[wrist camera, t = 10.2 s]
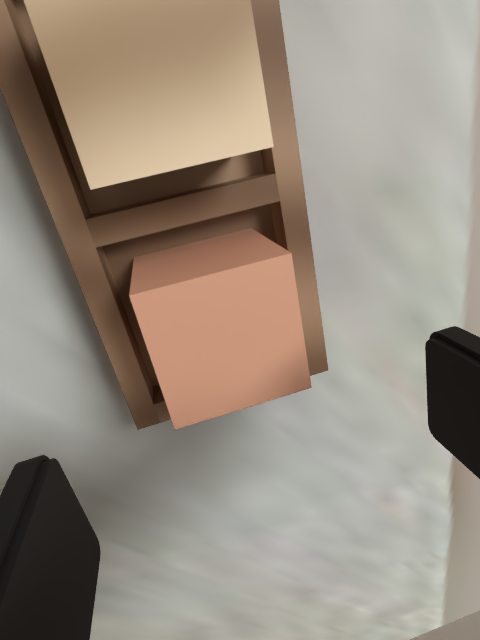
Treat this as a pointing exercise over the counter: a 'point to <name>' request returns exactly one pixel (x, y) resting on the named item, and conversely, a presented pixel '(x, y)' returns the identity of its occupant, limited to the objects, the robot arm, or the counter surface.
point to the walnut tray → (159, 201)
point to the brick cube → (221, 324)
